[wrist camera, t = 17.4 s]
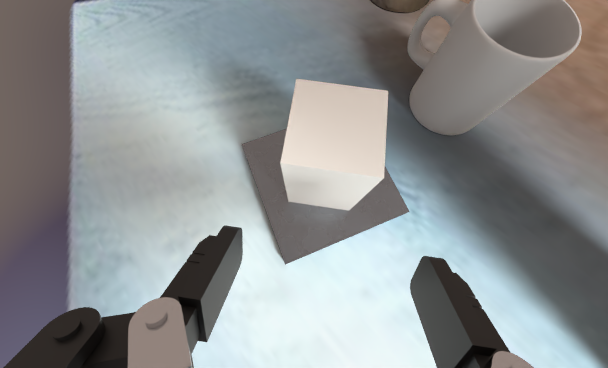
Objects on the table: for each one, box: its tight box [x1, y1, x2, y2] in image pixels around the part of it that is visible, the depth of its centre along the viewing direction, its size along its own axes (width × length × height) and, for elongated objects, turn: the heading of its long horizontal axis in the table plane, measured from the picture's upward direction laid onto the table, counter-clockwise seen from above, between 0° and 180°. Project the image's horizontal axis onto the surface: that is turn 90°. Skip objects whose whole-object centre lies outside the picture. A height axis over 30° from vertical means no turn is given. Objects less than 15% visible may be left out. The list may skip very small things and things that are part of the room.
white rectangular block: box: [280, 79, 388, 211], centre depth 19 cm, size 6×6×10 cm
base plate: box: [242, 129, 409, 264], centre depth 21 cm, size 13×13×8 cm
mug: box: [407, 0, 581, 135], centre depth 24 cm, size 12×8×11 cm
